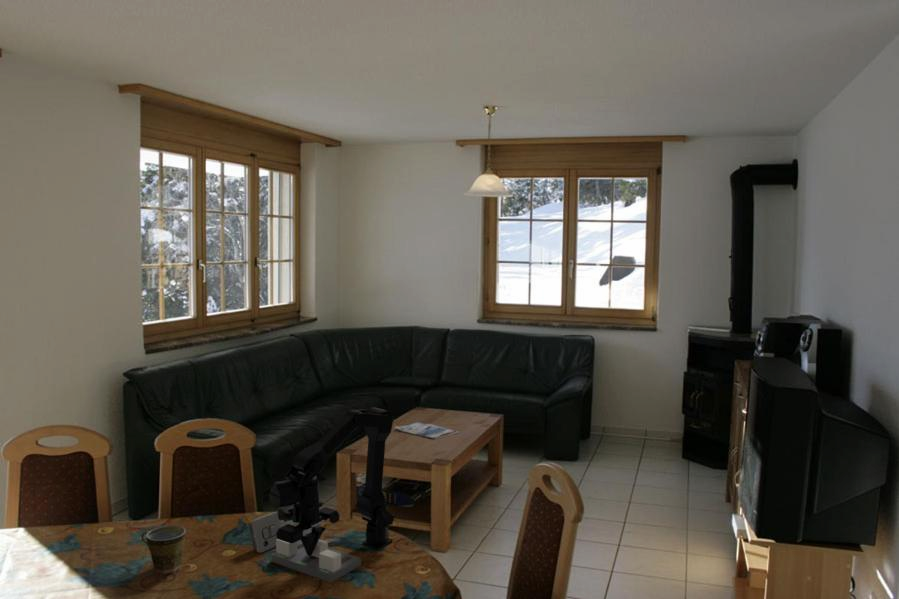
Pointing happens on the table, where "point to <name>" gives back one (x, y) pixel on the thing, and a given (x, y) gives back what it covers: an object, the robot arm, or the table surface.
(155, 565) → the ceramic cup
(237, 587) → the table surface
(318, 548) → the handle
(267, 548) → the electrical switch
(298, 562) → the breaker panel
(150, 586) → the table surface
